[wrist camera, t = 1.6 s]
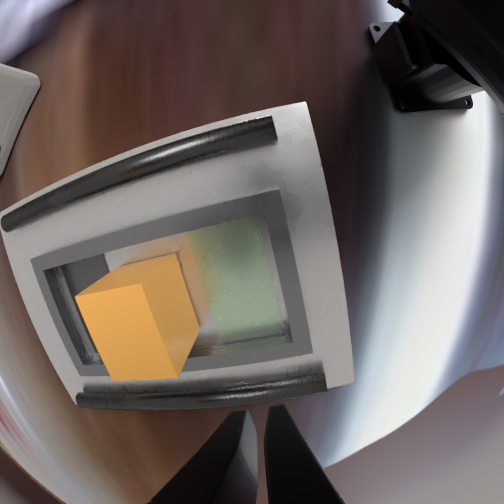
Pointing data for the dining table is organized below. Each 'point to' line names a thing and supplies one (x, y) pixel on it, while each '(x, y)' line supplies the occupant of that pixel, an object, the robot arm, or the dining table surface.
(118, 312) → the orange cube block
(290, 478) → the robot arm
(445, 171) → the dining table surface
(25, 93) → the electrical switch
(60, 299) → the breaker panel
